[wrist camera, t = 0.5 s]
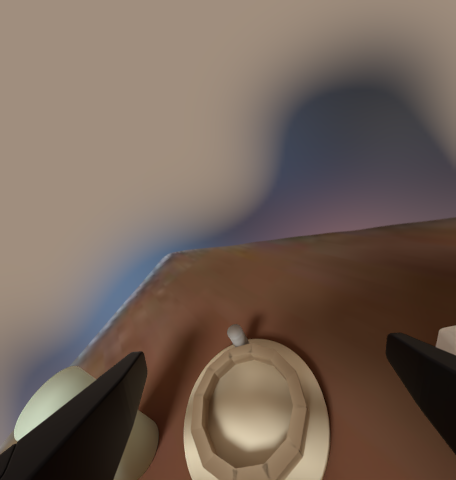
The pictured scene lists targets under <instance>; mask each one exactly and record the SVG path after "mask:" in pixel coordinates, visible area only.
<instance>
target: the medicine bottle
mask: <svg viewBox="0 0 456 480" xmlns="http://www.w3.org/2000/svg"><path fill="white" fill-rule="evenodd" d="M436 347H437V348H439V349H442V350H444V351H446V352H449V353H451V354H454V355H456V325H455V326H450V327H445V328H442V329H440V330H439V333H438V338H437V343H436Z"/></svg>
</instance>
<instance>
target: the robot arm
mask: <svg viewBox="0 0 456 480" xmlns="http://www.w3.org/2000/svg"><path fill="white" fill-rule="evenodd" d="M386 356H387V359H388V361H389V362H390V364H391V365H392V367H393V368H394V370H395V372H396V373H397V375H398V376H399V378H400V379H401V381H402V382H403V384H404V385H405V387H406V388H407V390H408V391H409V393H410V394H411V396H412V397H413V399H414V400H415V402H416V403H417V405H418V406H419V407H420V409H421V410H422V412H423V413H424V414H425V416H426V417H427V418H428V419H429V421H430V422H431V423H432V425H433V426H434V427H435V429H436V430H437V431H438V432H439V434H440V435H441V436H442V438H443V439H444V440H445V442H446V443H447V444H448V445H449V447H450V448H451V449H452V451H453V452H454V453H455V455H456V355H454V354H451V353H449V352H446V351H444V350H442V349H439V348H437V347H434V346H432V345H430V344H427V343H425V342H422V341H420V340H418V339H415V338H413V337H410V336H408V335H406V334H403V333H390V334H388V336H387V344H386ZM146 378H147V366H146V361H145V356H144V353H143V352H141V351H140V352H131V353H130V354H128V355H127V356H126V357H125V358H123V359H122V360H121V361H120V362H118V363H117V364H116V365H114V366H113V367H112V368H111V369H109V370H108V371H107V372H105V373H104V374H103V375H102V376H100V377H99V378H98V379H96V380H95V381H94V382H93V383H91V384H90V385H89V386H88V387H86V388H85V389H84V390H82V391H81V392H80V393H79V394H77V395H76V396H75V397H73V398H72V399H71V400H70V401H68V402H67V403H66V404H65V405H63V406H62V407H61V408H59V409H58V410H57V411H56V412H54V413H53V414H52V415H50V416H49V417H48V418H47V419H45V420H44V421H43V422H41V423H40V424H39V425H38V426H36V427H35V428H34V429H33V430H31V431H30V432H29V433H27V434H26V435H25V436H24V437H22V438H21V439H20V440H19V441H18V442H17V444H13V445H12V446H11V447H9V448H8V449H7V450H6V451H4V452H3V453H2V454H0V480H114V477H115V474H116V472H117V469H118V466H119V464H120V461H121V458H122V455H123V453H124V450H125V447H126V445H127V442H128V439H129V436H130V434H131V431H132V428H133V425H134V422H135V418H136V415H137V411H138V407H139V404H140V400H141V396H142V393H143V389H144V385H145V382H146Z"/></svg>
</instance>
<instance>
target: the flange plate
mask: <svg viewBox="0 0 456 480" xmlns="http://www.w3.org/2000/svg"><path fill="white" fill-rule="evenodd" d="M227 334H228V336H229V338H230V339H231V341H232V343H233V345H231V346H229V347H227V348H226V349H224V350H222V351H221V352H220V353H219V354H217V355H216V356H215V357H214V358H213V359H212V360H211V361H210V362H209V363H208V365H207V366H206V367H205V368H204V370H203V371H202V373H201V374H200V376H199V378H198V380H197V381H196V383H195V386H194V388H193V390H192V393H191V395H190V398H189V402H188V406H187V409H186V415H185V422H184V448H185V456H186V461H187V465H188V469H189V472H190V475H191V478H192V480H323V478H324V475H325V472H326V468H327V465H328V459H329V453H330V422H329V416H328V411H327V407H326V404H325V400H324V397H323V394H322V391H321V389H320V387H319V384H318V382H317V380H316V378H315V376H314V375H313V373H312V371H311V370H310V369H309V367H308V366H307V365H306V363H305V362H304V361H303V360H302V359H301V358H300V357H299V356H298V355H297V354H296V353H294V352H293V351H292V350H290V349H289V348H287V347H286V346H284V345H282V344H280V343H277V342H274V341H271V340H265V339H249V340H248V339H247V337H246V336H245V334H244V332H243V330H242V328H241V327H240V325H238V324H234V325H232V326H230V327H229V328H228V331H227Z"/></svg>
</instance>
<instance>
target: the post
mask: <svg viewBox="0 0 456 480" xmlns="http://www.w3.org/2000/svg"><path fill="white" fill-rule="evenodd" d="M95 380H96V379H95V378H94V377H92V376H91V375H89V374H88V373H87V372H85V371H84V370H83V369H81V368H80V367H78V366H71V367H68V368H66V369H63V370H62V371H60V372H58V373H57V374H55V375H54V376H53V377H52V378H50V379H49V380H48V381H47V382H46V383H45V384H44V385H43V386H42V387H41V388H40V389H39V390H38V391H37V392H36V393H35V394H34V395H33V397H32V398H31V399H30V401H29V402H28V403H27V405H26V406H25V408H24V409H23V411H22V413H21V414H20V416H19V419H18V420H17V423H16V426H15V430H14V437H15V439H16V440H17V441H19V440H20V439H21V438H22V437H24V436H25V435H26V434H27V433H29V432H30V431H31V430H33V429H34V428H35V427H36V426H38V425H39V424H40V423H41V422H43V421H44V420H45V419H47V418H48V417H49V416H50V415H52V414H53V413H54V412H56V411H57V410H58V409H59V408H61V407H62V406H63V405H65V404H66V403H67V402H68V401H70V400H71V399H72V398H73V397H75V396H76V395H77V394H79V393H80V392H81V391H82V390H84V389H85V388H86V387H88V386H89V385H90V384H91V383H93V382H94V381H95ZM158 441H159V431H158V427H157V425H156V423H155V422H154V421H153V420H152V419H150V418H149V417H147V416H146V415H145V414H143V413H142V412H141V411H139V410H138V411H137V415H136V418H135V422H134V425H133V428H132V431H131V434H130V436H129V439H128V442H127V445H126V447H125V450H124V453H123V455H122V458H121V461H120V464H119V466H118V469H117V472H116V474H115V477H114V480H138V479H139V478H140V477H141V476H142V475H143V474H144V473H145V471H146V470H147V469H148V467H149V466H150V464H151V462H152V460H153V458H154V456H155V453H156V450H157V446H158Z"/></svg>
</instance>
